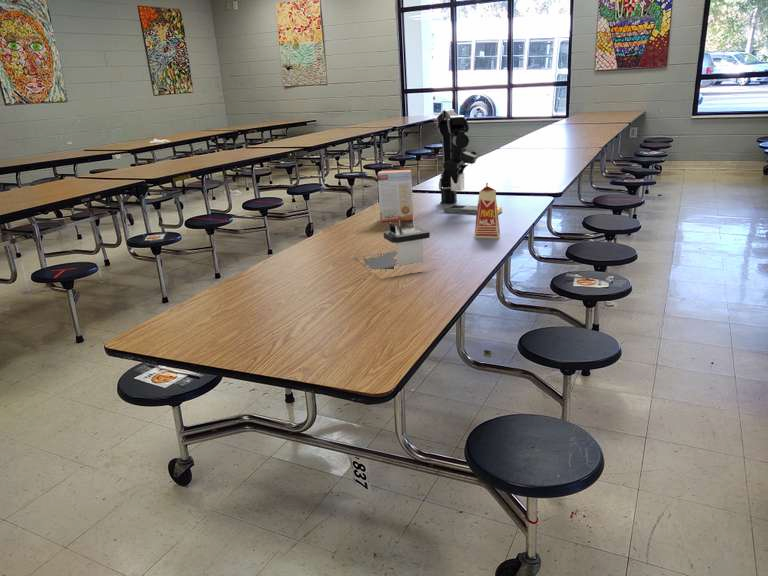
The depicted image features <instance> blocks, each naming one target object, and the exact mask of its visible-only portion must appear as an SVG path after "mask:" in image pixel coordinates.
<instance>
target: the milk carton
mask: <svg viewBox="0 0 768 576" xmlns="http://www.w3.org/2000/svg"><path fill="white" fill-rule="evenodd" d="M488 185H489V182H486V183H485V187H483V188H482V189H481V190H480V191H479V195H478V199H477V205H476V206H477V214H475V215H476V216H475V228H474V236H473V237H474V239H500V237H501V230H500V229H501V228H500V221H499V214H498V210H497V207H498V203H497V195H496V194H497V191H496V189H494V188H492V187H490V186H488Z"/></svg>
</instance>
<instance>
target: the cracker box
mask: <svg viewBox="0 0 768 576" xmlns="http://www.w3.org/2000/svg"><path fill="white" fill-rule="evenodd" d="M412 180H413V179H412V170H411V169H399V170H398V169H397V170H380V171H378V172H377V187H378V188H377V189H378V203H379V216H380V222H399V221H404V222H407V221H406V220H410V221H409V222H411V220H413V219H414V200H413V181H412Z"/></svg>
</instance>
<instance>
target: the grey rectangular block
mask: <svg viewBox="0 0 768 576" xmlns="http://www.w3.org/2000/svg"><path fill="white" fill-rule="evenodd" d="M463 190H465V173H464V172H463V173H458V180H457V183H454V181H453V179H452V177H451V191H456V192H457V191H459V192H461V191H463Z"/></svg>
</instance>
